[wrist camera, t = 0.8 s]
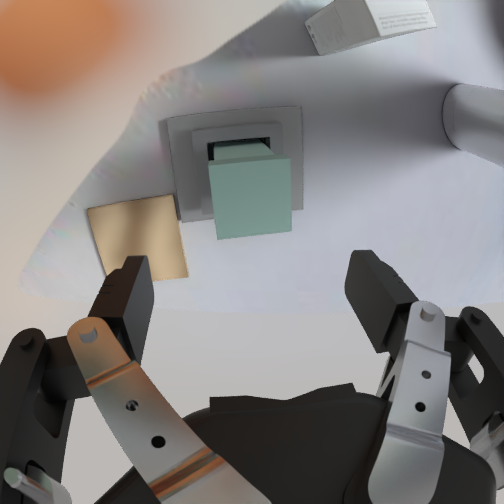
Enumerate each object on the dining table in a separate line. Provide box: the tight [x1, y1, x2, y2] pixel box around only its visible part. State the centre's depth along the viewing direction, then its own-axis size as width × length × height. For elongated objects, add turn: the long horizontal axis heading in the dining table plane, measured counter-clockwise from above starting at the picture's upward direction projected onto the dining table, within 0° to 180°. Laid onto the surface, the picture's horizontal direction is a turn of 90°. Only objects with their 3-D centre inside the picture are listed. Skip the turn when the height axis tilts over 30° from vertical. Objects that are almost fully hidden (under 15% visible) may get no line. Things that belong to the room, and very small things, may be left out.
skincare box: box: [304, 0, 436, 56], centre depth 18 cm, size 6×4×12 cm
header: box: [167, 107, 303, 223], centre depth 28 cm, size 13×11×3 cm
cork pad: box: [87, 194, 189, 281], centre depth 32 cm, size 10×10×1 cm
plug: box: [208, 139, 292, 240], centre depth 25 cm, size 5×5×12 cm
